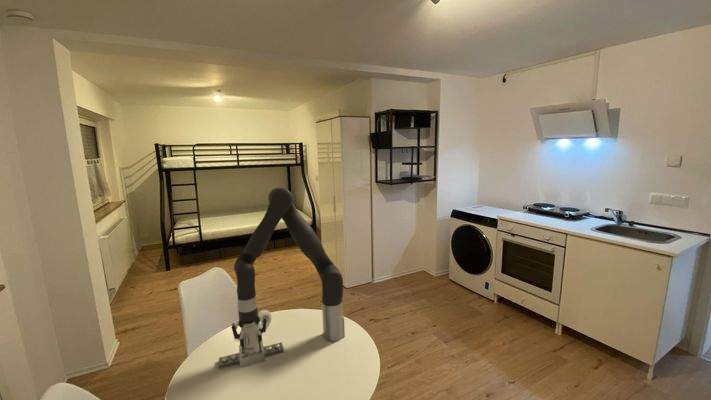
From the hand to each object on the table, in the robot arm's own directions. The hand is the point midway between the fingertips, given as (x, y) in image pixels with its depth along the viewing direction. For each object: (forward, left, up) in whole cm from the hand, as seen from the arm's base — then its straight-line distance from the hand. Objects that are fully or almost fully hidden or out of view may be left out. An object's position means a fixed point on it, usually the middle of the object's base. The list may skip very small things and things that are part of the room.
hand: (251, 343), depth 128 cm
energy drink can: (0, 0, -5) cm, 5 cm away
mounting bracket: (0, 0, -6) cm, 6 cm away
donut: (-6, -18, -6) cm, 20 cm away
